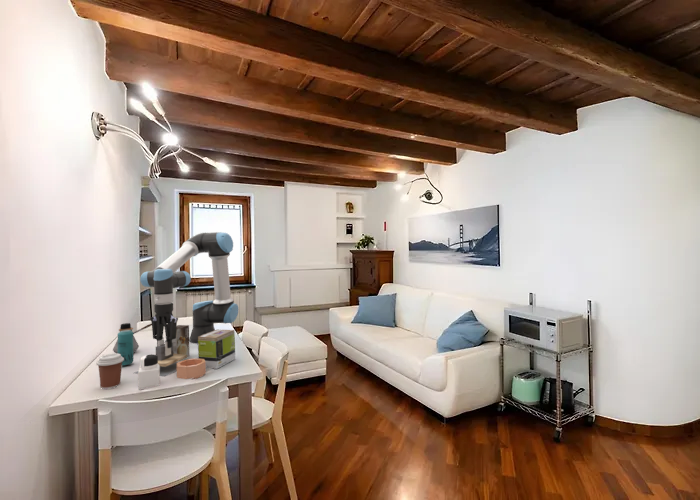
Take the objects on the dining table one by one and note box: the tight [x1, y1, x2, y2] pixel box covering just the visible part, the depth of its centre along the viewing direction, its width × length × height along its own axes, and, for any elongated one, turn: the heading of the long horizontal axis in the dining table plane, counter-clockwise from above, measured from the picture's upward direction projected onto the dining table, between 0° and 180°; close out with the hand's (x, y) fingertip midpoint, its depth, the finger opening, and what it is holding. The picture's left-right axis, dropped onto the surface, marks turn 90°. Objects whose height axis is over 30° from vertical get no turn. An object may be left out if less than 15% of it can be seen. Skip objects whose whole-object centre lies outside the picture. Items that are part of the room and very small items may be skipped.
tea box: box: [197, 329, 236, 370], centre depth 164 cm, size 15×10×15 cm, turn 165°
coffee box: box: [169, 324, 190, 358], centre depth 171 cm, size 9×6×16 cm
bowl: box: [176, 357, 207, 380], centre depth 149 cm, size 11×11×6 cm
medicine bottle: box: [137, 353, 161, 391], centre depth 137 cm, size 7×7×12 cm
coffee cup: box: [95, 352, 124, 390], centre depth 138 cm, size 9×9×12 cm
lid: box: [155, 343, 188, 367], centre depth 157 cm, size 13×13×7 cm
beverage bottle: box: [117, 322, 134, 366], centre depth 161 cm, size 6×7×20 cm
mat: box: [133, 361, 179, 378], centre depth 156 cm, size 17×17×1 cm
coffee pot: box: [112, 323, 152, 354], centre depth 185 cm, size 21×12×15 cm, turn 130°
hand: (164, 354), depth 157 cm, fingers closed on lid, 3 cm apart
